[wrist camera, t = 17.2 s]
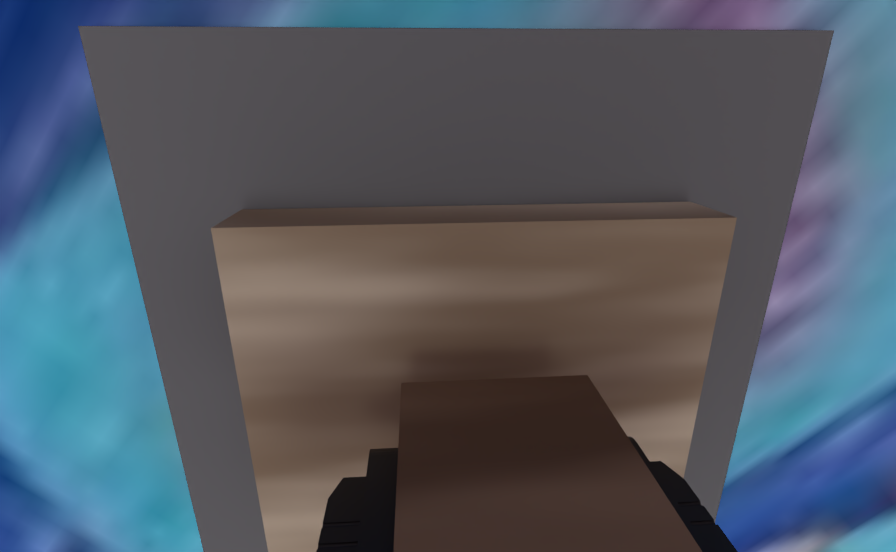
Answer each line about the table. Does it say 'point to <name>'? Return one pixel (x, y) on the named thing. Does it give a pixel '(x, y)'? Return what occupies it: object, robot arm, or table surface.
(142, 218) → the mat
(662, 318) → the tile
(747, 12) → the table surface
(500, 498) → the block
